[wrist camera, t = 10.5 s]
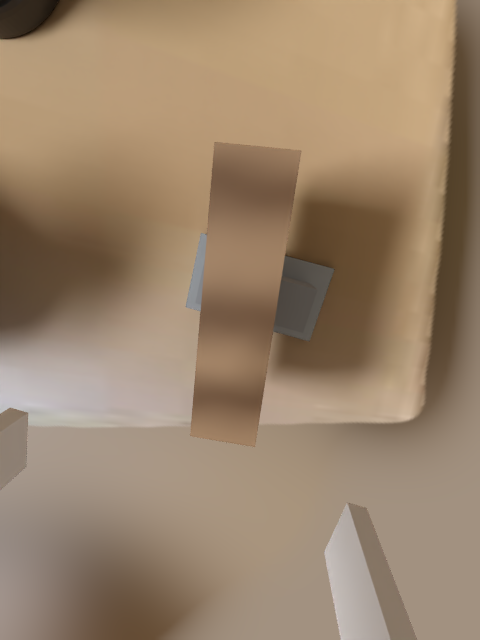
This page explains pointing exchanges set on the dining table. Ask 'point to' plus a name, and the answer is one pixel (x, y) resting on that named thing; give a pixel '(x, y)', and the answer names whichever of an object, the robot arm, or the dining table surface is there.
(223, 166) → the walnut bar
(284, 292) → the fulcrum
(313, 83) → the dining table surface
